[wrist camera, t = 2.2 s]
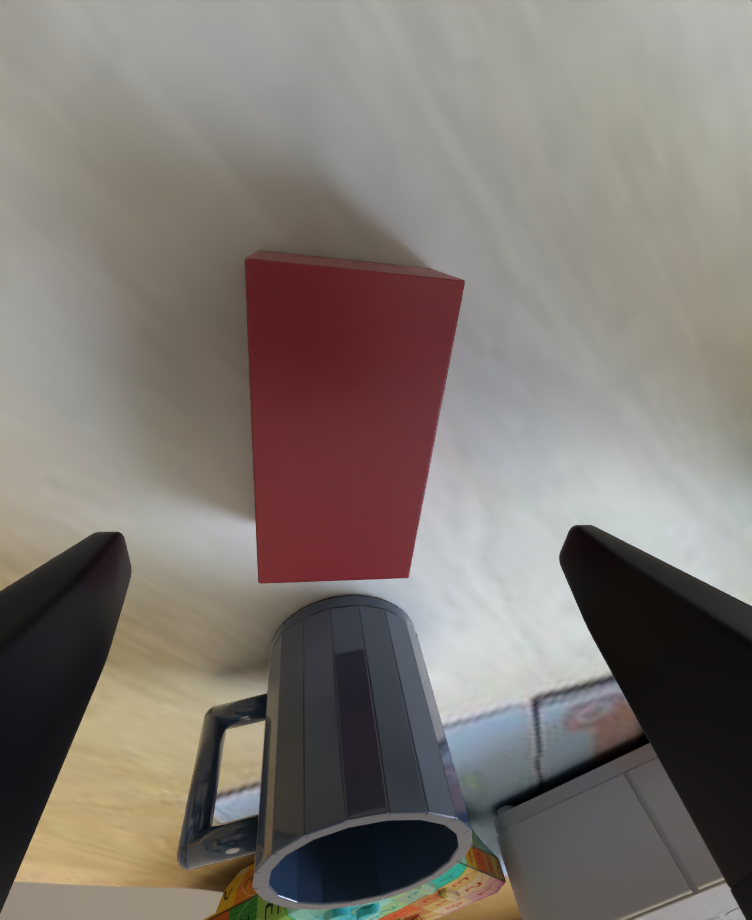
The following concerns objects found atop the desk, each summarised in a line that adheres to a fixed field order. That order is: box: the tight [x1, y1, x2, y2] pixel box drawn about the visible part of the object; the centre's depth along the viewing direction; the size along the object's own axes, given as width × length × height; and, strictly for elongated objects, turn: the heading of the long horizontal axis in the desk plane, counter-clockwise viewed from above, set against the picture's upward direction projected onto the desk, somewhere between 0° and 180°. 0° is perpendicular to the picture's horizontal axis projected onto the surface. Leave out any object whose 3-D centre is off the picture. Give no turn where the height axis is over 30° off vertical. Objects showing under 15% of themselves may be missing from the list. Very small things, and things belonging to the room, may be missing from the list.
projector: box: [494, 743, 746, 920], centre depth 31 cm, size 17×22×8 cm
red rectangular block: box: [245, 251, 465, 583], centre depth 13 cm, size 10×5×3 cm, turn 174°
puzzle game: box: [204, 829, 506, 920], centre depth 30 cm, size 12×5×20 cm
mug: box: [177, 596, 473, 910], centre depth 17 cm, size 10×7×8 cm
